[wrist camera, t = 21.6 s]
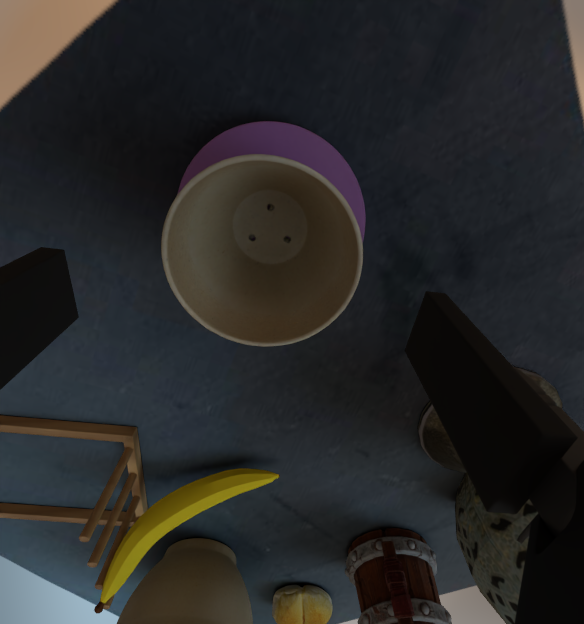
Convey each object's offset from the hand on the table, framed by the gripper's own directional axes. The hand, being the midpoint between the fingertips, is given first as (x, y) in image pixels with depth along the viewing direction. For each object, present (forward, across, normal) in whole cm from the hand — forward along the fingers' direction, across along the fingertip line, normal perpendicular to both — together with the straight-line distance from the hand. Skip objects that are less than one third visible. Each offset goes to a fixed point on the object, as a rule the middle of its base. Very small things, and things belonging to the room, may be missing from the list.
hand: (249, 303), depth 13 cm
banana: (+11, -6, -29) cm, 32 cm away
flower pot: (+12, 0, 0) cm, 12 cm away
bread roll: (+12, +10, -56) cm, 59 cm away
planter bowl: (+12, -5, -46) cm, 48 cm away
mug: (+12, +19, -40) cm, 46 cm away
